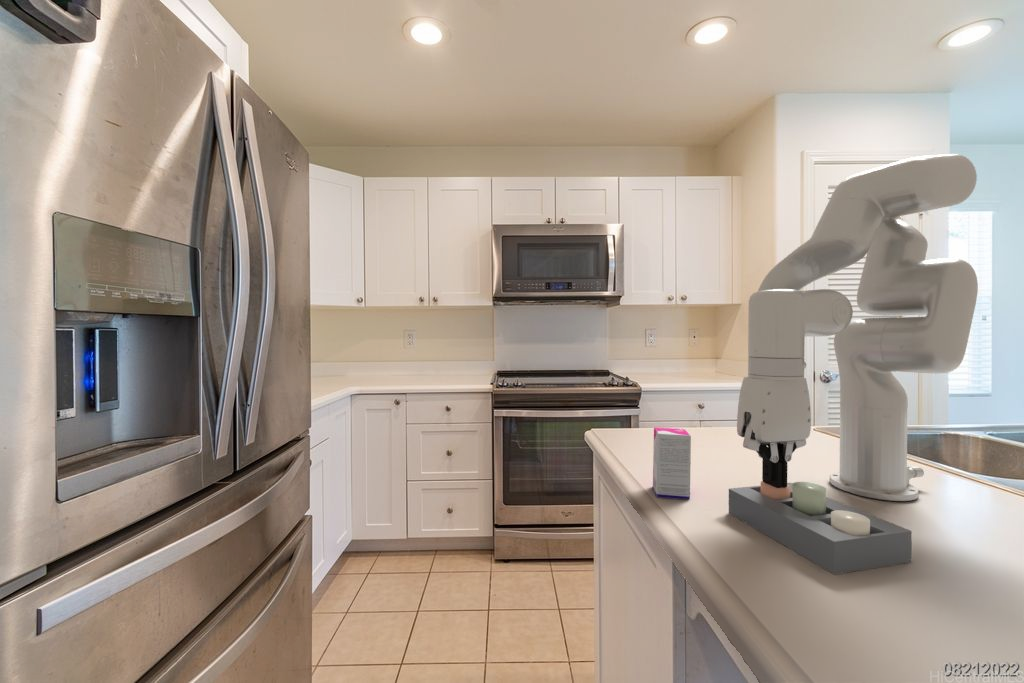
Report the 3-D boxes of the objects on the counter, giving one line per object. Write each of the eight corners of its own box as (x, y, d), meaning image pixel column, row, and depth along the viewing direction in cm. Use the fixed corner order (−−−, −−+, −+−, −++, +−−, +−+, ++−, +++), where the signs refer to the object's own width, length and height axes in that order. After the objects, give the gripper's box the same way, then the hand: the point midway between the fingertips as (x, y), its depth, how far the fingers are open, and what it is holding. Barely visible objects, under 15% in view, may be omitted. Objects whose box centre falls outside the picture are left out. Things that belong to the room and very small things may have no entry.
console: (790, 506, 72) (790, 482, 72) (911, 562, 54) (911, 531, 54) (728, 513, 69) (728, 488, 69) (834, 574, 52) (834, 541, 52)
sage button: (808, 507, 64) (808, 480, 64) (833, 518, 60) (833, 490, 60) (785, 509, 63) (785, 483, 63) (809, 521, 59) (810, 492, 59)
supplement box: (691, 500, 75) (691, 435, 74) (656, 497, 76) (655, 433, 76) (685, 488, 80) (684, 427, 80) (652, 486, 82) (652, 426, 81)
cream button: (847, 538, 58) (847, 509, 58) (878, 552, 54) (878, 521, 54) (823, 541, 57) (823, 511, 57) (852, 556, 53) (852, 524, 53)
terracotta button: (775, 503, 70) (775, 479, 70) (796, 513, 66) (796, 488, 66) (754, 505, 69) (754, 481, 69) (774, 516, 65) (774, 490, 65)
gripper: (794, 366, 72) (793, 473, 73) (717, 368, 69) (716, 480, 69) (837, 369, 65) (835, 489, 65) (752, 372, 62) (752, 497, 62)
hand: (774, 484), depth 67 cm, fingers closed
